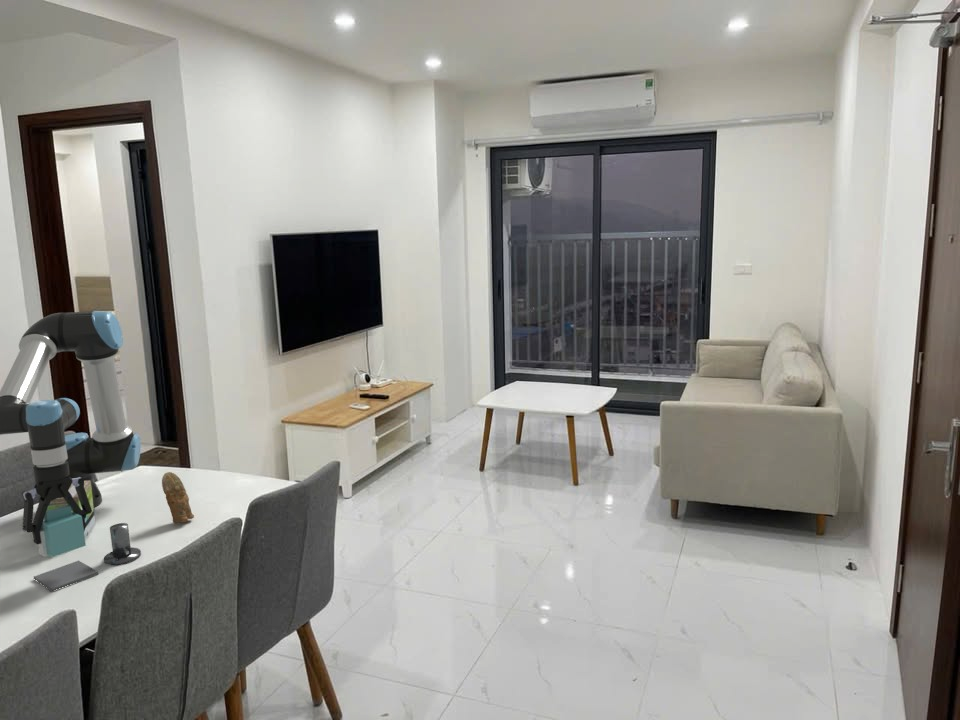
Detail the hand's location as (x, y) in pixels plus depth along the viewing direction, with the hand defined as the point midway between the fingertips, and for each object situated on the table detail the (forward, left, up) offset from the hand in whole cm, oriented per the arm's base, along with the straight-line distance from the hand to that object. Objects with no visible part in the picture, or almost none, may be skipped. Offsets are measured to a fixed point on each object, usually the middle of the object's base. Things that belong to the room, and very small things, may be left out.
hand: (62, 548), depth 180 cm
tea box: (-25, +12, -8) cm, 29 cm away
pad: (0, 0, -8) cm, 8 cm away
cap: (0, 0, 0) cm, 0 cm away
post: (+1, +14, -8) cm, 16 cm away
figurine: (-10, +37, -8) cm, 39 cm away
